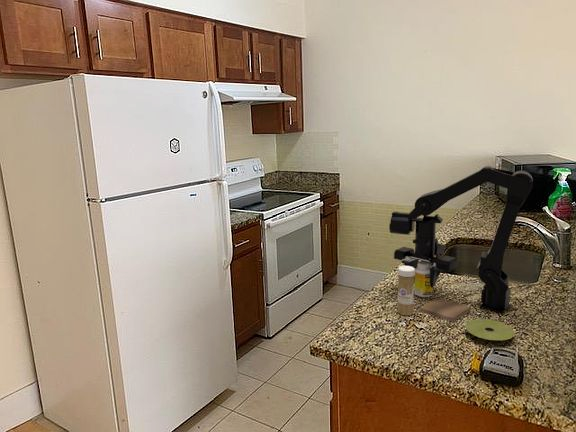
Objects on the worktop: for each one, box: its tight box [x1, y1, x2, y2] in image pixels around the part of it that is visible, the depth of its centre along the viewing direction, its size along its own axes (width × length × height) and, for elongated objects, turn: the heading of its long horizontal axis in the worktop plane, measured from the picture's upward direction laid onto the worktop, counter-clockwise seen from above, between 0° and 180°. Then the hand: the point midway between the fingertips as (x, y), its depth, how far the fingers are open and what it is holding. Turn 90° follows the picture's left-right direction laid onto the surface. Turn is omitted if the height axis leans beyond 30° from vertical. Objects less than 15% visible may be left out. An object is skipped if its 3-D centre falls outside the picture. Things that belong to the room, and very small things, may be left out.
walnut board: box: [419, 297, 472, 323], centre depth 123 cm, size 10×10×1 cm
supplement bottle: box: [414, 260, 434, 298], centre depth 132 cm, size 6×6×10 cm
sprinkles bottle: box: [396, 265, 415, 316], centre depth 121 cm, size 5×5×14 cm
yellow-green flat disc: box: [464, 318, 516, 341], centre depth 108 cm, size 11×11×2 cm
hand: (423, 284), depth 133 cm, fingers closed on supplement bottle, 5 cm apart
